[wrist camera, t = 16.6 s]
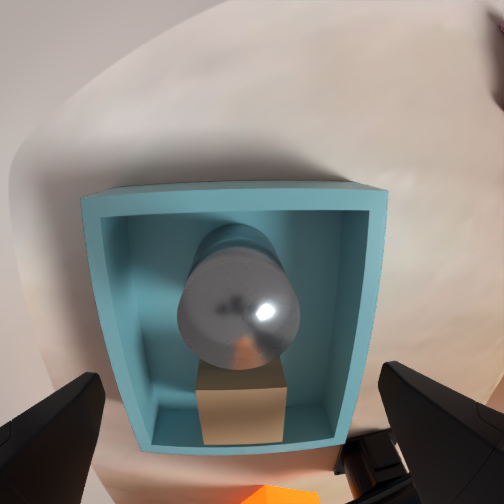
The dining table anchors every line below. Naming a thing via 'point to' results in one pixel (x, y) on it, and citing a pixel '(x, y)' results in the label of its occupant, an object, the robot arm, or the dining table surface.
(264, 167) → the dining table surface
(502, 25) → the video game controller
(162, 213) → the tote
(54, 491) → the robot arm
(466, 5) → the dining table surface
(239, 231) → the steel cylinder
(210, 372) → the walnut cube
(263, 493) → the orange juice
